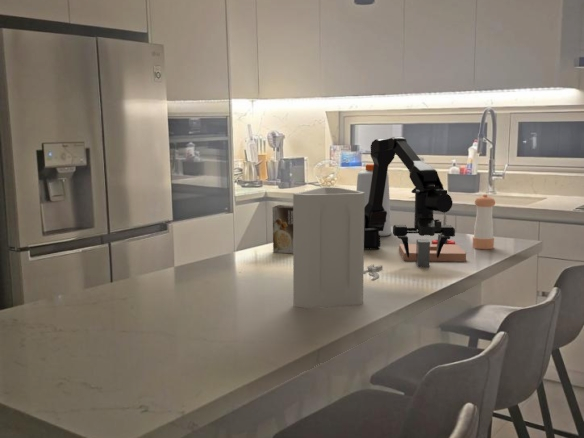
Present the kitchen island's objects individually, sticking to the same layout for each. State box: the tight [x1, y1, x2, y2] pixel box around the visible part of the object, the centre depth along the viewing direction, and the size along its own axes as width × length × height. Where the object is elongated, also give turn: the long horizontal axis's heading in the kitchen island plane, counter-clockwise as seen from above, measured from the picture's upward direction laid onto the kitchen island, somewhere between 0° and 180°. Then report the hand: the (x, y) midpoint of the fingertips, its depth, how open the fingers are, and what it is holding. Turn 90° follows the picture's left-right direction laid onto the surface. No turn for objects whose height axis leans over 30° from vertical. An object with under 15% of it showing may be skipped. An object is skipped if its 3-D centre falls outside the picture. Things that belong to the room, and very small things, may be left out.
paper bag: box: [292, 186, 365, 309], centre depth 168 cm, size 19×15×28 cm
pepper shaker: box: [472, 194, 496, 250], centre depth 238 cm, size 7×7×19 cm
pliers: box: [363, 263, 383, 281], centre depth 199 cm, size 10×2×15 cm
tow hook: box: [431, 212, 456, 244], centre depth 246 cm, size 8×13×9 cm
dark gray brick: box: [415, 238, 431, 268], centre depth 209 cm, size 4×5×8 cm
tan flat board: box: [398, 243, 467, 262], centre depth 224 cm, size 20×16×2 cm
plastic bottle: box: [355, 163, 392, 237], centre depth 267 cm, size 15×15×28 cm
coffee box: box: [271, 204, 293, 255], centre depth 231 cm, size 9×6×16 cm
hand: (422, 257), depth 210 cm, fingers open, 9 cm apart
